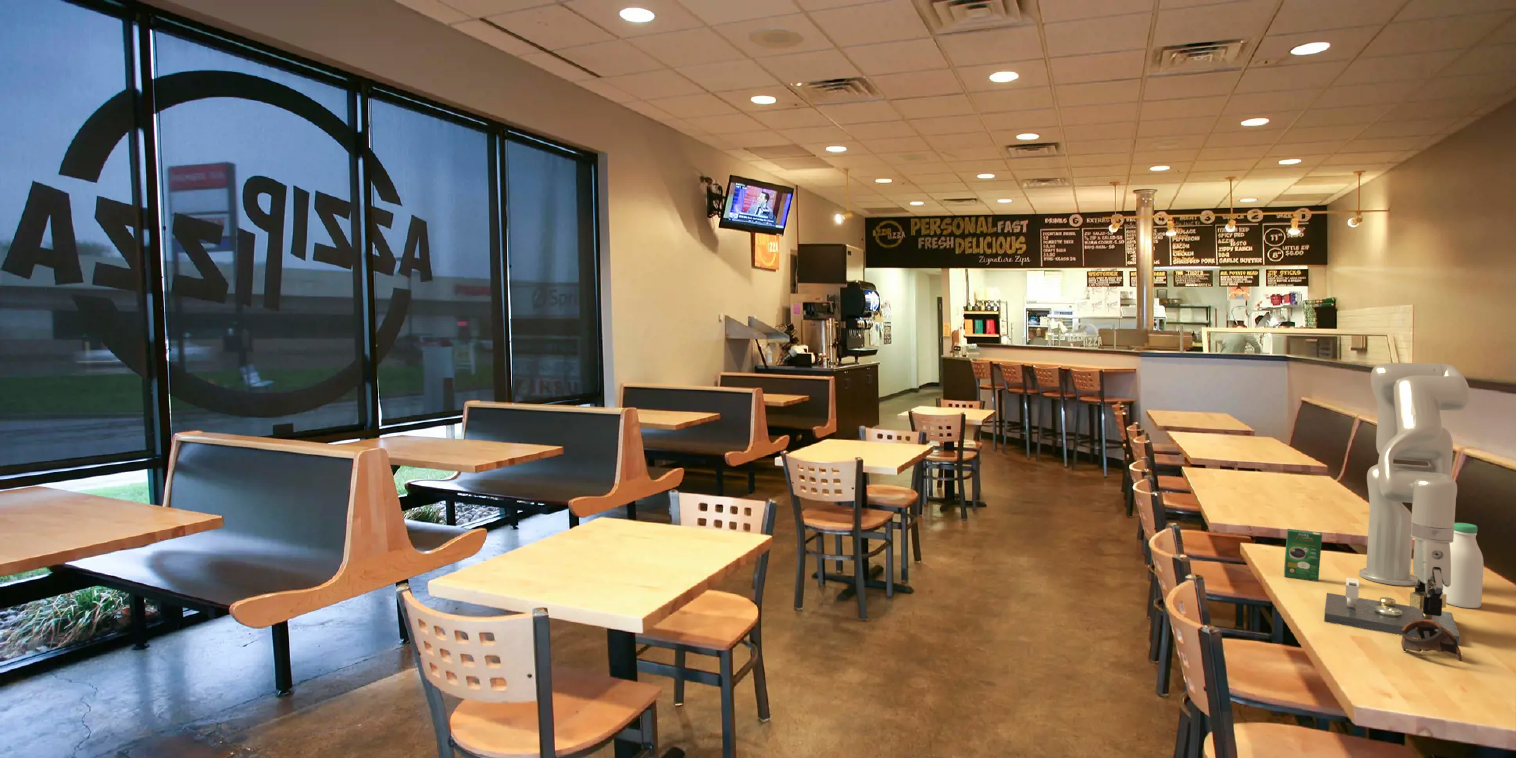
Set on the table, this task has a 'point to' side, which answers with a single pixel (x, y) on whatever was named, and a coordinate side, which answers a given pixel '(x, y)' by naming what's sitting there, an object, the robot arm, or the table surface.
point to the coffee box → (1302, 554)
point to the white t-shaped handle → (1352, 591)
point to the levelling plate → (1381, 615)
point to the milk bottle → (1465, 568)
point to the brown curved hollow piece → (1430, 638)
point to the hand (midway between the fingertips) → (1427, 609)
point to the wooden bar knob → (1418, 600)
